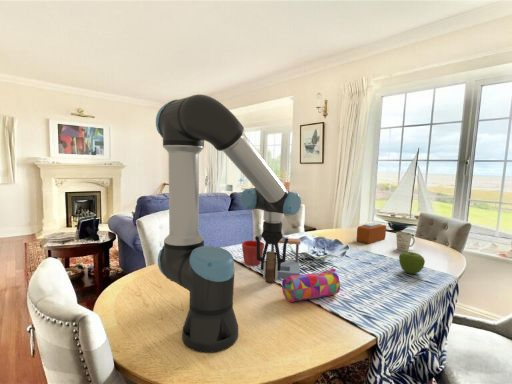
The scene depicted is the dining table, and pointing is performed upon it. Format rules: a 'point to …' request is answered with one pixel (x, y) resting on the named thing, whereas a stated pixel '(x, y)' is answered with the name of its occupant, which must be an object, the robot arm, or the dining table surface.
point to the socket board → (289, 266)
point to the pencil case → (311, 285)
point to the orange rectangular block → (371, 233)
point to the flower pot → (251, 252)
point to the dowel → (270, 267)
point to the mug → (404, 241)
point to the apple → (411, 262)
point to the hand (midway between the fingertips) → (270, 277)
